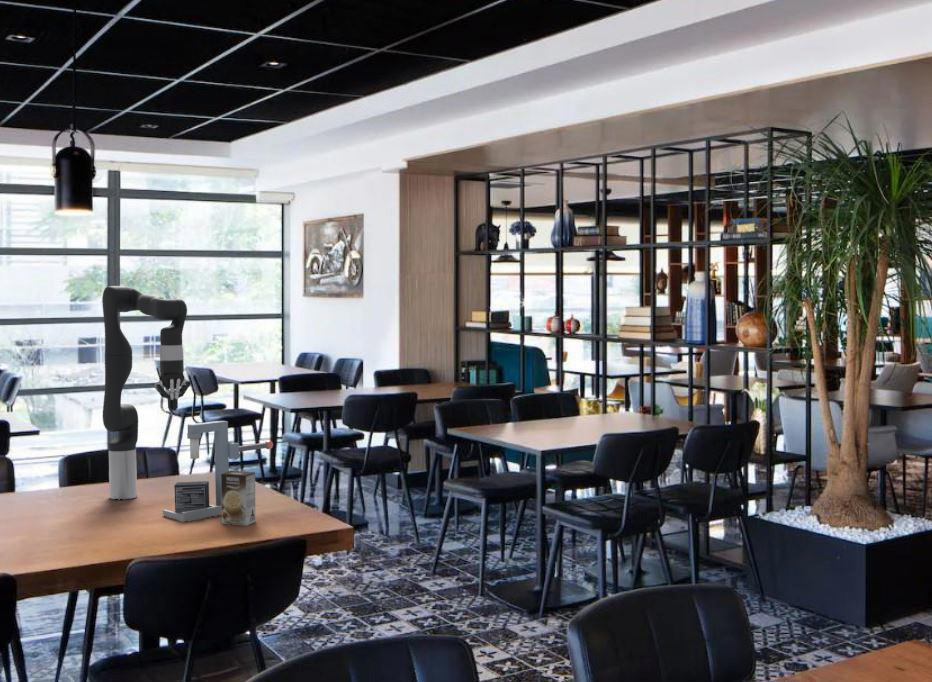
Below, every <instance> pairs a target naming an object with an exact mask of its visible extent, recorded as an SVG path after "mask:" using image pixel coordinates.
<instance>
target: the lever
mask: <svg viewBox="0 0 932 682" xmlns="http://www.w3.org/2000/svg"><path fill="white" fill-rule="evenodd" d="M273 446H274V443H273V441H272V440H267V441H265V442H260V443H254V444H252V443H251V444H244V445H239V453H241V452H247V451H249V452H250V451H255V450H263V449H266V450H271V449H272V448H273ZM228 454H229V446H228Z"/></svg>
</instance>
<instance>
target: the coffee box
mask: <svg viewBox="0 0 932 682" xmlns="http://www.w3.org/2000/svg"><path fill="white" fill-rule="evenodd" d="M221 490H222V515H221V524H222V525H223V524H224V525H231V524H232V525H231V526H233V525H234V526H245V527H246V526H249V525H251V524H253V523H256V521H257V520H256V519H257V518H256V516H257V513H256V472H255V471H243V470H232V469H231V470H229V471H228V472H225V473H223V474H221Z"/></svg>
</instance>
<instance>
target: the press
mask: <svg viewBox="0 0 932 682" xmlns="http://www.w3.org/2000/svg"><path fill="white" fill-rule="evenodd" d="M211 432H213V433H214V435H213V436H214V464H215V465H214V473H215V476H214V477H215V505H213V504H210V503H209V508H203V509H197V510H192V511H186V512H182V514H179V513H176V512H175V511H172V510H169V509H162V516H163V515H164V516H167V517H166V518H168V517H170V518H169V519H171V518H173V519H172V520H174V519H177V520H176V521H178V520H180V521H179V522H181V521H183V522H182V523H186V522H185V521H188V522H192V521H191V520H193V521H197V520H196V519H198V520H202V519H201V518H204V519H207V518H206V517H209V518H212V517H211V516H214V517H218V516H217V515H220V516H222V490H221V474H223V473H225V472H228V471H230V468H229V467H230V463H229V461H230V460H231V459H232V460H233V459H240V452H239V446H240V443H239V442H232V441H229V421H227V420H218V421H216V420H215V421H208V422H199V423H190V424H187V433H186V435H187V436H186V437H187V439H188V440H189V454H190V456H189V458H190V460H195V459H200V439H201V438H202V434H203V433H211ZM228 446H229V454H228ZM164 516H163V517H164Z"/></svg>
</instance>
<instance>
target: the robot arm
mask: <svg viewBox="0 0 932 682" xmlns="http://www.w3.org/2000/svg"><path fill="white" fill-rule="evenodd" d="M101 301H102V302H101V303H102V311H103V312H102V314H103V325H104V395H103V396H104V397H103V406H102V422H103V426H104V429H106V430H107V431H108V432H110V433H115V432H118V433H117V435H116V436H115V438H113V439H112V440H110V442H108V482H109V484H108V485H109V489H108V491H109V499H110V498H111V500H115V499H118V501H119V500H120V499H123V500H131V499H134V498H137V497H138V477H137V476H138V475H137V474H138V473H137V471H138V470H137V442H138V439H139V414H138V413H139V412H138V411H137V409H136V407H135V406H134V405H133V404H131V403H124V404H123V403H122V402H121V401H122V393H123V389H124V387H125V385H126V383H127V381H128V379H129V377H130V375H131V372H132V370H133V369H132V368H133V349H132V345H131V344H130V342H129V341H128V339H127V337H126V336H125V333H123V331H122V328H121V326H120V324H119V317H118V316H119V315H118V313H128V312H129V313H130V312H134V311H138V312H141V313H142V314H143V315H146V316H151V317H154V318H155V319H157V320H160V321H171V323H170V325H168V326H166V327H163V328H161V329H160V332H159V336H160V349H159V369H160V370H159V371H160V376H159V380H158V382H157V383H154V384H153V387H154V388H155V390H156V391H157V392H158V394H159V395H160V396H161V398H163V399H167V408H168V410H169V411H171V412H174V411H177V410H178V408H179V404H178V401H179V398H182V397H184V395H185V393H187V391H188V389H189V387H190V386H191V384H192V382H191V381H190V380H189V381H188V380H187V379H186V378H185V377H186V376H185V374H184V365H185V364H184V358H185V357H184V349H183V330H184V328H185V327H184V326H185V321H186V319H187V315H188V306H187V304H186V302H185V301H184V299H182V298H164V297H161V296H158V295H155V294H149V293H144V292H142V291H140V290H138V289H136V288H134V287H132V286H128V285H121V286H120V285H110V286H109V285H108V286H106V287H105V288H104V289H103V293H102V300H101ZM163 387H164V388H165V389H164V388H163ZM121 403H122V404H121Z"/></svg>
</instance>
